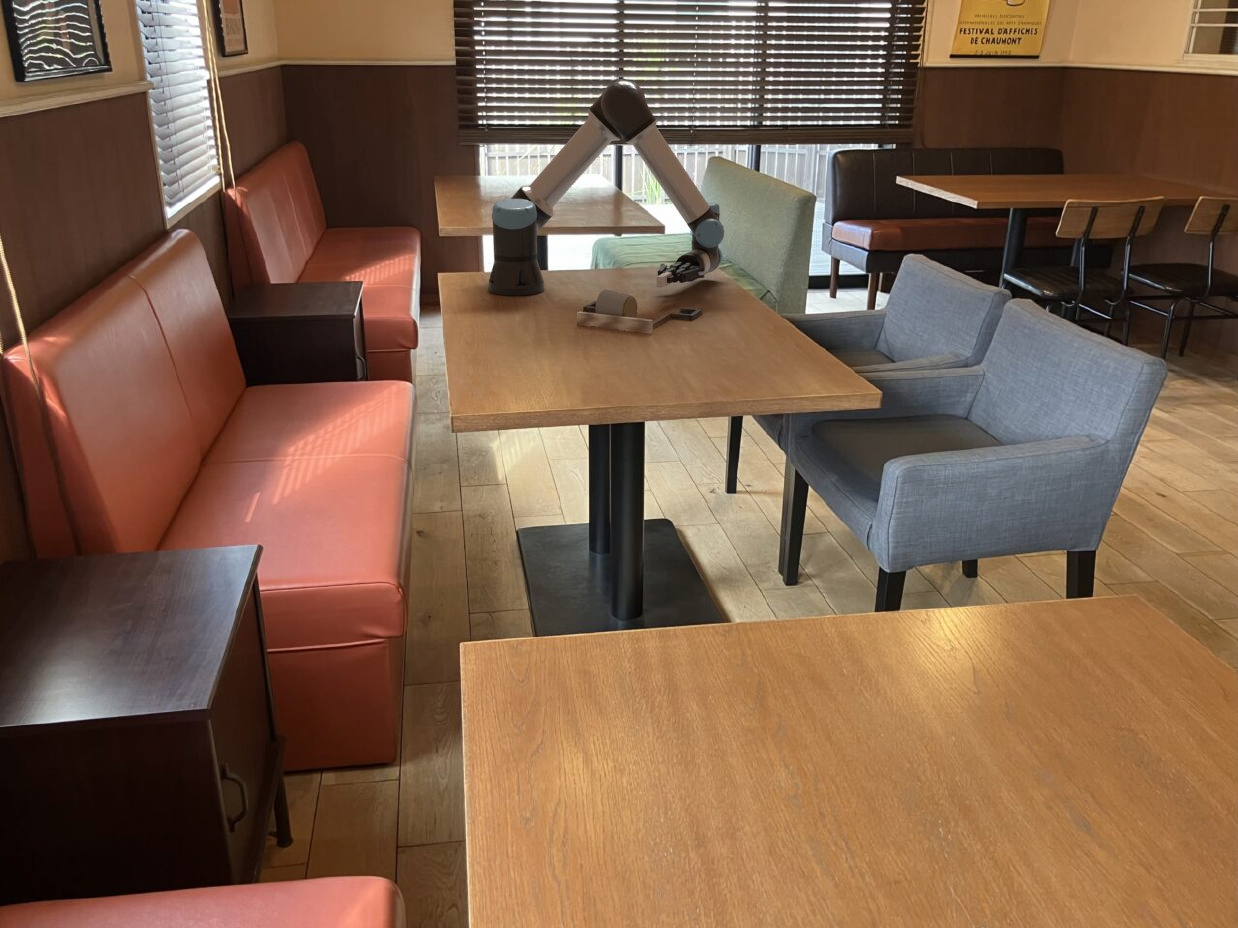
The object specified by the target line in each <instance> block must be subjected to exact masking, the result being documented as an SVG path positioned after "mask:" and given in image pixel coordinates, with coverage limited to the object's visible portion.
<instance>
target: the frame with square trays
mask: <svg viewBox="0 0 1238 928" xmlns="http://www.w3.org/2000/svg"><path fill="white" fill-rule="evenodd" d="M596 301H597V300H594V301H592V302H590V303H588V304H586V305H584V306H582V310H583V311H577V312H576V325H577V326H582V325H586V326H585V327H590V326H596V327H595V328H598V327H602V328H601V329H607V328H611V329H610V330H615V329H619V330H618V331H624V330H625V331H626V332H633V333H635V332H636V333H643V334H651V335H652V333H653V332H654V330H655V329H656V328H657V327H659V326H660V325H663V324H664V323H666V322H667V321H670V320H671V319H675V320H683V321H694V320H695V319H697V318H698V317H700V316H702V315H703V309H699V308H691V307H680V308H679V312H667V313H666V314H664V315H662V316H660V317H659V318H657V319H655V320H654V319H648V318H640V317H639V318H638V317H636V318H632V317H623V316H614V315H605V314H597V313H596V310H595V308H596ZM625 331H624V332H625Z"/></svg>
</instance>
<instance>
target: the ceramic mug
mask: <svg viewBox="0 0 1238 928" xmlns="http://www.w3.org/2000/svg"><path fill="white" fill-rule="evenodd" d="M595 301H596V308H595V310H596V313H597V314H605V315H614V316H623V317H632V318H637V315H638V303H637V302H638V301H637V299H636V298H635V296H632V295H630V294H628V293H623V292H618V291H616V290H615V291H614V290H610V289H603V290H602V291H600V293H599V294H598V296H597V298H596V300H595Z"/></svg>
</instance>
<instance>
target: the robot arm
mask: <svg viewBox="0 0 1238 928" xmlns="http://www.w3.org/2000/svg"><path fill="white" fill-rule="evenodd" d="M587 112H588V117H587V119H586V120H585V122H583V124H582V125H581V126H580V127H579V128H578V129H577V131H576V132H575V133H574V134H573V136H572V137H571V138H570V139H569V140H568V141H567V142H566V144H564V145H563V146H562V147H561V149H560V150H559V151H558V152H557V154H556V155H555V156H554V157H553V158H552V159H551V160H550V161H549V163H548V164H547V165H546V166H545V167H544V168H543V169H542V171H540V173H539V174H538V175H537V176H536V178H535V179H534V180H533V181H532V182H531V183H530V184H528V185H527V184H526V185H521V186H520V187H519V188H518V190H517V191H516V192H515V193H514V194H513V195H512V197H511V198H507V199H503V200H499V201H497V202H495V203H494V204H493V206H492V209H491V211H492V212H491V220H492V238H493V239H492V240H493V265H492V269H491V272H490V274H489V275H490V276H489V279H488V291H489V293H493V294H495V295H501V296H530V295H536V294H539V293H542V292H544V291H545V280H544V277H543V274H542V271H541V268H540V266H539V262H538V233H539V232H540V231H541V230H542V229H543V228H544V226H545V225H546V224H547V223H548V222H549V221H550V220H551V218H552V217H553V216H554V207H555V205H556V204H557V203H558V202H559V201H560V200H561V199H562V198H563V197H564V195H565V194H566V193H567V192H568V191H569V190H570V189H571V187H572V186H573V185H574V184H575V183H576V182H577V180H578V179H579V178H580V177H581V176H582V175H583V174H584V173H585V171H586V170H587V169H588V168H589V167H590V166H591V165H592V164H593V163H594V162H595V160H597V158H598V157H599V156H600V155H601V154H602V152H603V151H604V150H605V149H606V148H607V147H608V146H609V145H610V144H611V143H612V142H614V141H621V139H623V140H624V142H625V143H626V144H629V145H632V147H633V148H634V149H635V151H636V152H637V153H638V155H639V156H640V158H641V159H642V161H643V162H644V164H645V166H647V168H648V170H649V171H650V173H651V174H652V175H653V177H654V178H655V179H656V181H657V183H658V184H659V185H660V187H661V188H662V190H663V191H664V192H665V195H667V197H668V199H669V200H670V202H671V204H673V206H674V207H675V209H676V210H677V212H678V213H679V215H680V216H681V217H682V219H683V220H684V222H685V223H686V225H687V226H688V228H689V230H691V250H690V251H687V252H686V253H684V254H682V255H680V256H679V257H678V258H677V260H676V261H675V263H673V264H670V265H669V266H668V265H667V264H665V263H661V264H659V265H660V267H659V268H658V269H657V275H656V288H661V289H662V288H664V287H667V286H668V285H670V284H672V283H674V284H675V283H678V282H679V283H680V284H684V283H689V282H690V283H691V282H694V281H696V280H698V279H703V278H705V275H707V274H709V273H712V272H714V271H715V270H717V268H718V267H720V265H721V263H722V261H723V253H722V250H721V248H720V247H719V245H720V244H721V243H722V241H723V239H724V237H725V229H724V228H725V227H724V225H723V224H722V222H721V221H720V216H721V213H720V205H719V204H718V203H716V202H710V201H707V200H706V199H705V197H704V195H702V193H701V192H700V189H698V187H697V186H696V184H695V183H694V181H693V179H692V178H691V177H690V175H689V174H688V172H687V171H686V169H685V167H683V164H682V163H681V162H680V160H679V159H678V157H677V155H676V154H675V153H674V152H673V149H672V148H671V147H670V146H669V144H668V142H667V140H666V139H665V138H664V136H663V135H662V134H661V133H662V132H660V130H659V129H658V127H657V122H658V119H657V118H656V117H655V115H654V114H653V112H652V111H651V109H650V107H649V104H648V102H647V99H646V94H645V92H644V90H643V89H642V88H641V87H640V85H639V84H637V83H636V81H633V80H631V79H627V78H620V79H619V78H618V79H615V80H613V81H611V82H610V83H609V84H608V85H607V86H606V87H605V88H604V91H602V93H601V94H600V95H599V96H598V98H597V99H596V100H595V101H594V102H593V103H592V104H591V106H590V107H589V108H588V111H587Z"/></svg>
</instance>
